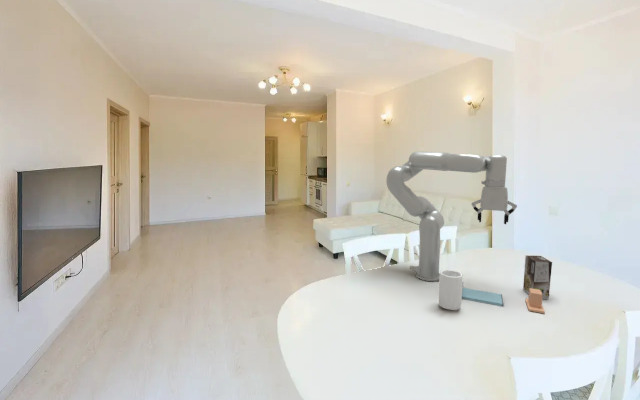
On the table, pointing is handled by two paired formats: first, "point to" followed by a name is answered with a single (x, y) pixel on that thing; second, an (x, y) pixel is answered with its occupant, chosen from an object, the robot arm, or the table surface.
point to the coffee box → (537, 274)
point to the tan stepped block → (535, 301)
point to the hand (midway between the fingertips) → (492, 222)
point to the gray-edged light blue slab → (482, 296)
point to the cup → (450, 289)
